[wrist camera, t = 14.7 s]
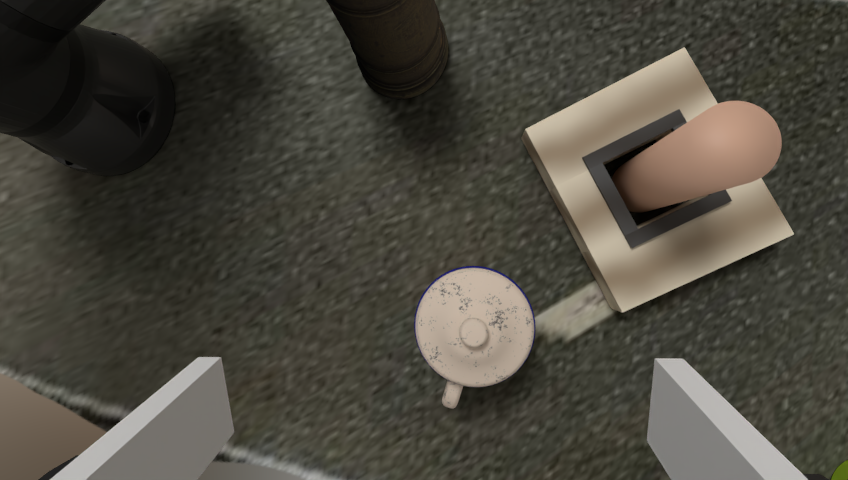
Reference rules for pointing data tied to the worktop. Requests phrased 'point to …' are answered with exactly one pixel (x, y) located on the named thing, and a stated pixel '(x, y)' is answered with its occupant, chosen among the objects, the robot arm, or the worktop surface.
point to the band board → (605, 209)
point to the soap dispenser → (841, 472)
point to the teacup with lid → (474, 328)
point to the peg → (701, 157)
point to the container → (395, 43)
